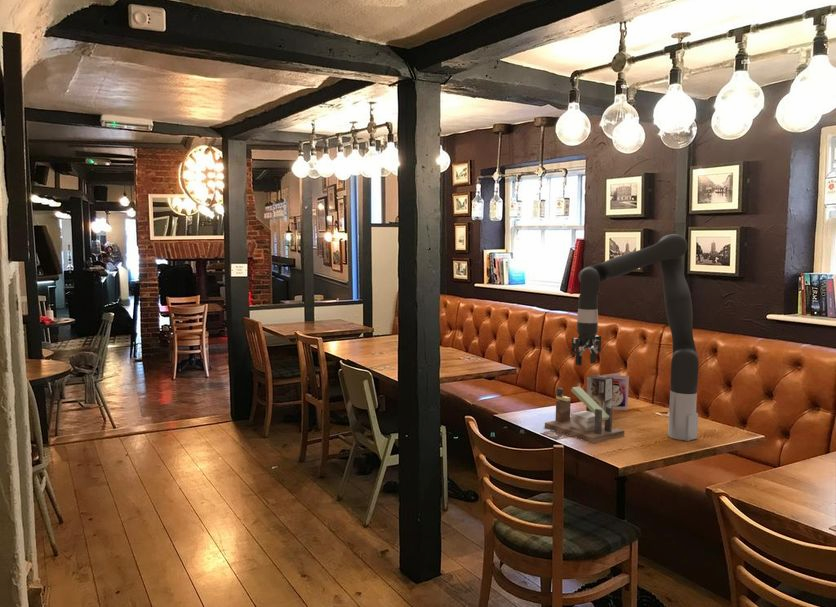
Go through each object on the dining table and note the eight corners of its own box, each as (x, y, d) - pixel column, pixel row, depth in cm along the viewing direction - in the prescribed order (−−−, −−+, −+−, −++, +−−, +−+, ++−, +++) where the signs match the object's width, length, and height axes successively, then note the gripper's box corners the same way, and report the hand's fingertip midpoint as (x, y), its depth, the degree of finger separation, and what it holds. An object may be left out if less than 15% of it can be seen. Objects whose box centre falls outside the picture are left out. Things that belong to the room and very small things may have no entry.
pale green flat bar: (608, 419, 245) (609, 416, 244) (600, 420, 243) (602, 417, 242) (577, 389, 256) (579, 386, 256) (570, 390, 254) (572, 387, 253)
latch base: (624, 435, 248) (625, 406, 247) (594, 443, 238) (595, 413, 237) (574, 421, 267) (575, 394, 266) (544, 427, 257) (545, 399, 256)
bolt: (570, 400, 259) (570, 390, 258) (566, 401, 257) (566, 390, 257) (559, 397, 263) (559, 387, 263) (555, 398, 262) (555, 388, 261)
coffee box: (612, 415, 276) (614, 377, 275) (604, 418, 272) (606, 379, 270) (593, 411, 283) (594, 374, 281) (585, 413, 279) (586, 376, 277)
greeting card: (601, 409, 285) (602, 375, 284) (597, 405, 293) (598, 372, 291) (628, 410, 285) (629, 376, 283) (623, 406, 292) (625, 372, 291)
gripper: (582, 323, 241) (580, 367, 243) (608, 320, 250) (606, 364, 251) (566, 321, 247) (565, 364, 249) (592, 318, 256) (590, 360, 257)
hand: (585, 364), depth 250 cm, fingers open, 7 cm apart
